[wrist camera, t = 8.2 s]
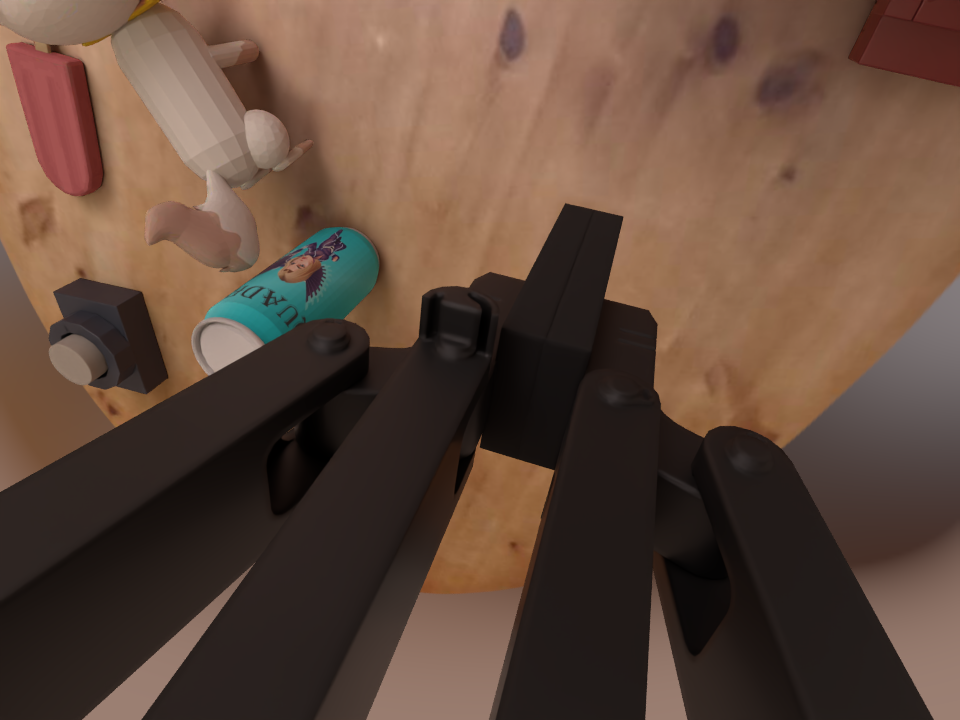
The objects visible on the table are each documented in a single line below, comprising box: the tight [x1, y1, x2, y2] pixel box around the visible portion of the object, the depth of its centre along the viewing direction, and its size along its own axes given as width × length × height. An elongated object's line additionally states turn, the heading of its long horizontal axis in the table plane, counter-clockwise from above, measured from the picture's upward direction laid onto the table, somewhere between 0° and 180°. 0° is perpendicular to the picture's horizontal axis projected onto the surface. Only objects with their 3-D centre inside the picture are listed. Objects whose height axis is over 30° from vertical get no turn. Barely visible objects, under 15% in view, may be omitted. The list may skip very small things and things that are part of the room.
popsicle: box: [6, 41, 103, 196], centre depth 44 cm, size 5×2×15 cm
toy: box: [0, 0, 313, 272], centre depth 33 cm, size 9×19×15 cm, turn 27°
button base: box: [49, 278, 168, 394], centre depth 55 cm, size 10×7×5 cm
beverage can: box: [192, 227, 379, 375], centre depth 39 cm, size 6×6×15 cm
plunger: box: [49, 334, 108, 385], centre depth 53 cm, size 4×4×2 cm
